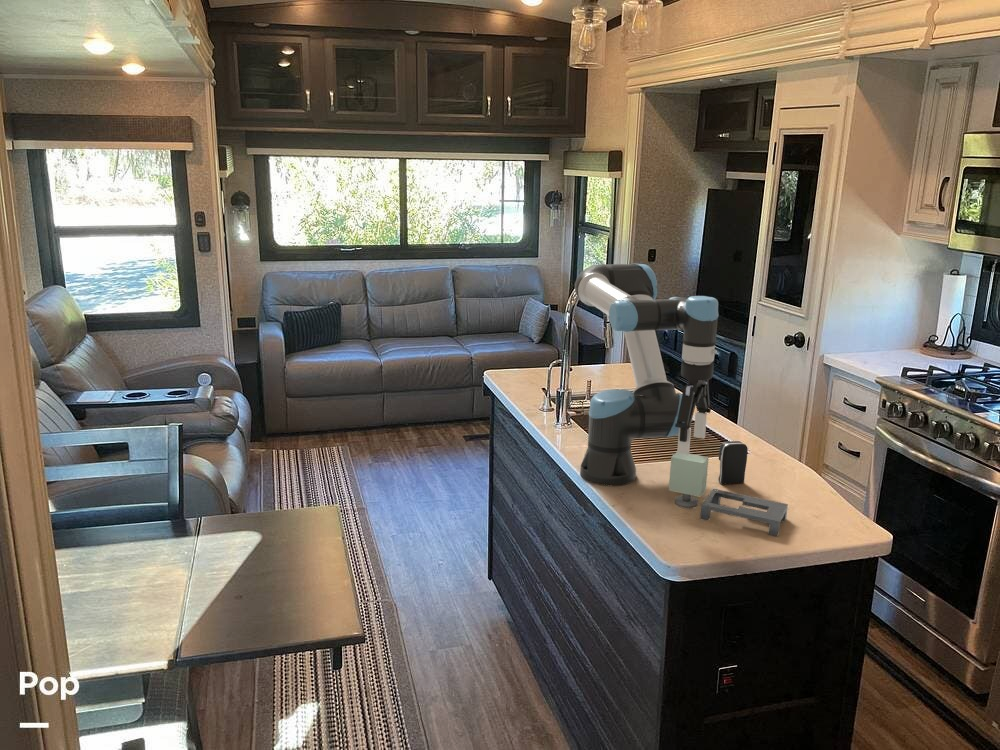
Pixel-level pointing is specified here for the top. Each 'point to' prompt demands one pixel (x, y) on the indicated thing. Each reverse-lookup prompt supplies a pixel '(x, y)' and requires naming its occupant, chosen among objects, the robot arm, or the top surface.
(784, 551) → the top surface
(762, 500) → the keyhole plate
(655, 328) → the robot arm
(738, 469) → the battery charger
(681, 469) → the pale green boxy piece
